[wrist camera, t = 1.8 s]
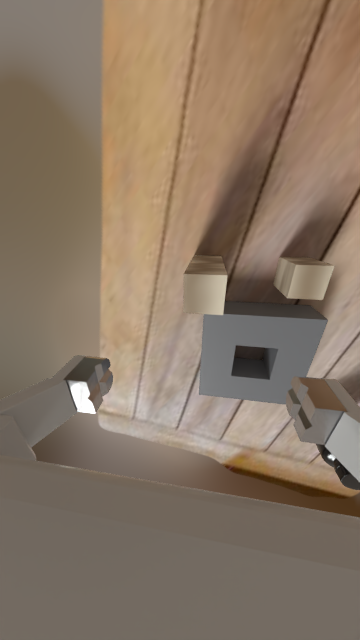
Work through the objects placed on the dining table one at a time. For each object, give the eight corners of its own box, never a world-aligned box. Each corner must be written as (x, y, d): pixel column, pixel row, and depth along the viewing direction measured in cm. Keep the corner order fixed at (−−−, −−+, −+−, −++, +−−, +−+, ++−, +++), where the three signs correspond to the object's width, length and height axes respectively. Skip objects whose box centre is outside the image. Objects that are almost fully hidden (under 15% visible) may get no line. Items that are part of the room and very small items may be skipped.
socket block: (310, 305, 29) (327, 320, 25) (284, 383, 36) (294, 405, 32) (205, 300, 31) (203, 312, 27) (200, 374, 39) (198, 394, 34)
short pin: (309, 257, 26) (334, 265, 21) (301, 285, 28) (322, 299, 23) (279, 256, 27) (295, 264, 22) (273, 284, 29) (287, 298, 23)
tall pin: (221, 255, 28) (227, 275, 17) (219, 282, 30) (223, 315, 19) (194, 255, 29) (183, 273, 18) (193, 281, 30) (183, 312, 20)
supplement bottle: (336, 394, 36) (389, 466, 25) (342, 418, 38) (393, 492, 28) (297, 402, 38) (330, 471, 28) (305, 424, 40) (338, 495, 30)
